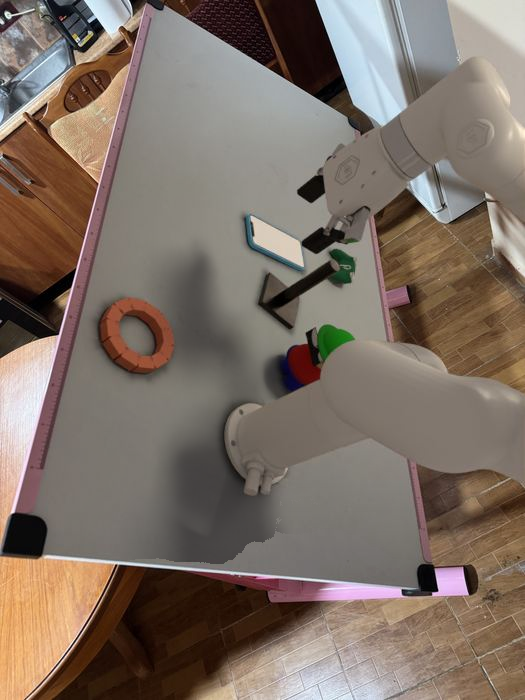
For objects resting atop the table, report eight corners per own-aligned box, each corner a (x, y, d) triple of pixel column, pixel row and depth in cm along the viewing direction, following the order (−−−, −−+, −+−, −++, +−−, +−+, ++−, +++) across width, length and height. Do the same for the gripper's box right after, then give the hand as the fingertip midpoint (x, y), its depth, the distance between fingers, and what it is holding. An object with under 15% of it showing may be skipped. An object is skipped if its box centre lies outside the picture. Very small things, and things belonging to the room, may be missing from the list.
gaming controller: (324, 285, 120) (351, 289, 119) (325, 271, 117) (353, 275, 116) (330, 260, 126) (357, 263, 125) (331, 246, 124) (359, 249, 123)
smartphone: (306, 270, 113) (252, 243, 103) (301, 273, 113) (247, 247, 103) (301, 240, 116) (248, 211, 106) (296, 243, 117) (243, 215, 107)
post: (290, 329, 102) (348, 295, 94) (258, 304, 99) (316, 265, 90) (296, 299, 108) (352, 264, 99) (266, 274, 104) (321, 235, 95)
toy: (303, 407, 96) (372, 376, 86) (266, 388, 91) (335, 353, 82) (304, 364, 101) (369, 330, 92) (269, 343, 97) (334, 305, 87)
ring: (153, 386, 76) (161, 382, 75) (88, 344, 71) (95, 339, 70) (175, 331, 83) (182, 326, 81) (116, 290, 78) (123, 284, 77)
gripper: (376, 86, 71) (283, 166, 82) (397, 182, 63) (290, 258, 73) (411, 119, 76) (318, 191, 87) (435, 213, 67) (329, 280, 78)
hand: (305, 222), depth 80 cm, fingers open, 9 cm apart
